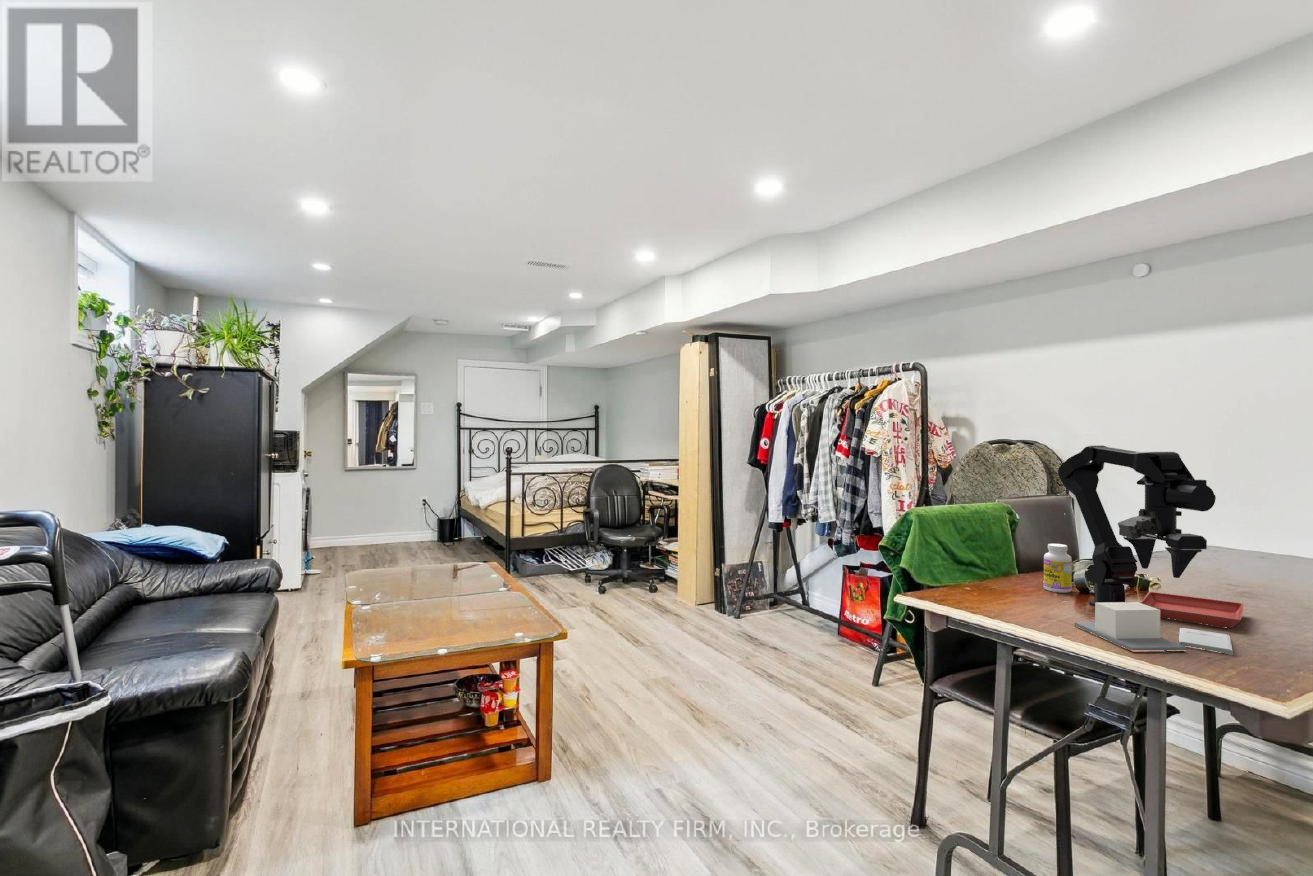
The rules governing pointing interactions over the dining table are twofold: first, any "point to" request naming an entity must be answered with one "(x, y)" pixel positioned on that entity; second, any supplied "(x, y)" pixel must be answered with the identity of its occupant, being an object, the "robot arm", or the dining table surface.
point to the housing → (1127, 620)
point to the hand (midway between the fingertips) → (1160, 573)
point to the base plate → (1134, 640)
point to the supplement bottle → (1058, 569)
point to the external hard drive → (1205, 640)
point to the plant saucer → (1195, 609)
